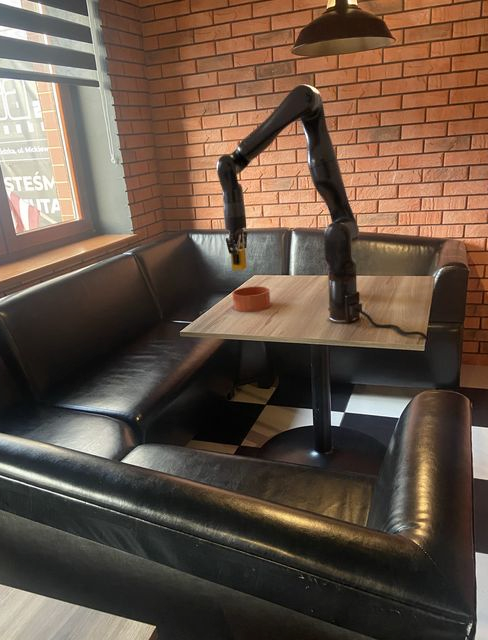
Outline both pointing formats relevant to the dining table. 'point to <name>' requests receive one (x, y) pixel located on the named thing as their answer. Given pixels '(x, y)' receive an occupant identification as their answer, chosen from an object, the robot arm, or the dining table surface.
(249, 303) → the crock
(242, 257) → the sponge
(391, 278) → the dining table surface
